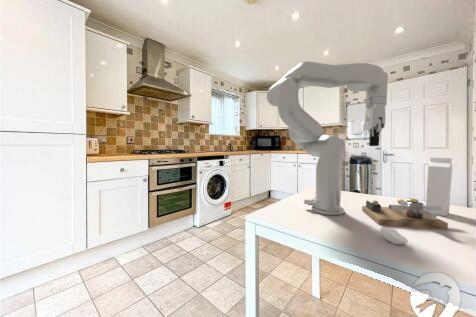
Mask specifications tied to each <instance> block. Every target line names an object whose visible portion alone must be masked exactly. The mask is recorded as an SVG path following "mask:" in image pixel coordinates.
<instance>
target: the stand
mask: <svg viewBox="0 0 476 317" xmlns="http://www.w3.org/2000/svg"><path fill="white" fill-rule="evenodd" d="M361 208H362V210H361V211H362V212H363V213H364V214H365V215H367V216H368V217H369V218H370V219H371V220H372V221H374V222H375V223H376V224H377V225H380V226H396V227H407V228H408V227H410V228H422V229H424V228H425V229H426V228H427V229H439V230H448V227H449V223H448V222H446V221H444V220H443V219H440V218H438V217H436V218H430V217H428V216H426V215H423V218H422V219H415V218H410V217H408V216H406V210H391V209H389V206H382V205H381V204H380V203H379V202H378V201H377V200H376V199H373V200H372V201H369V200H366V202H365V205H362V206H361Z"/></svg>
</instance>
